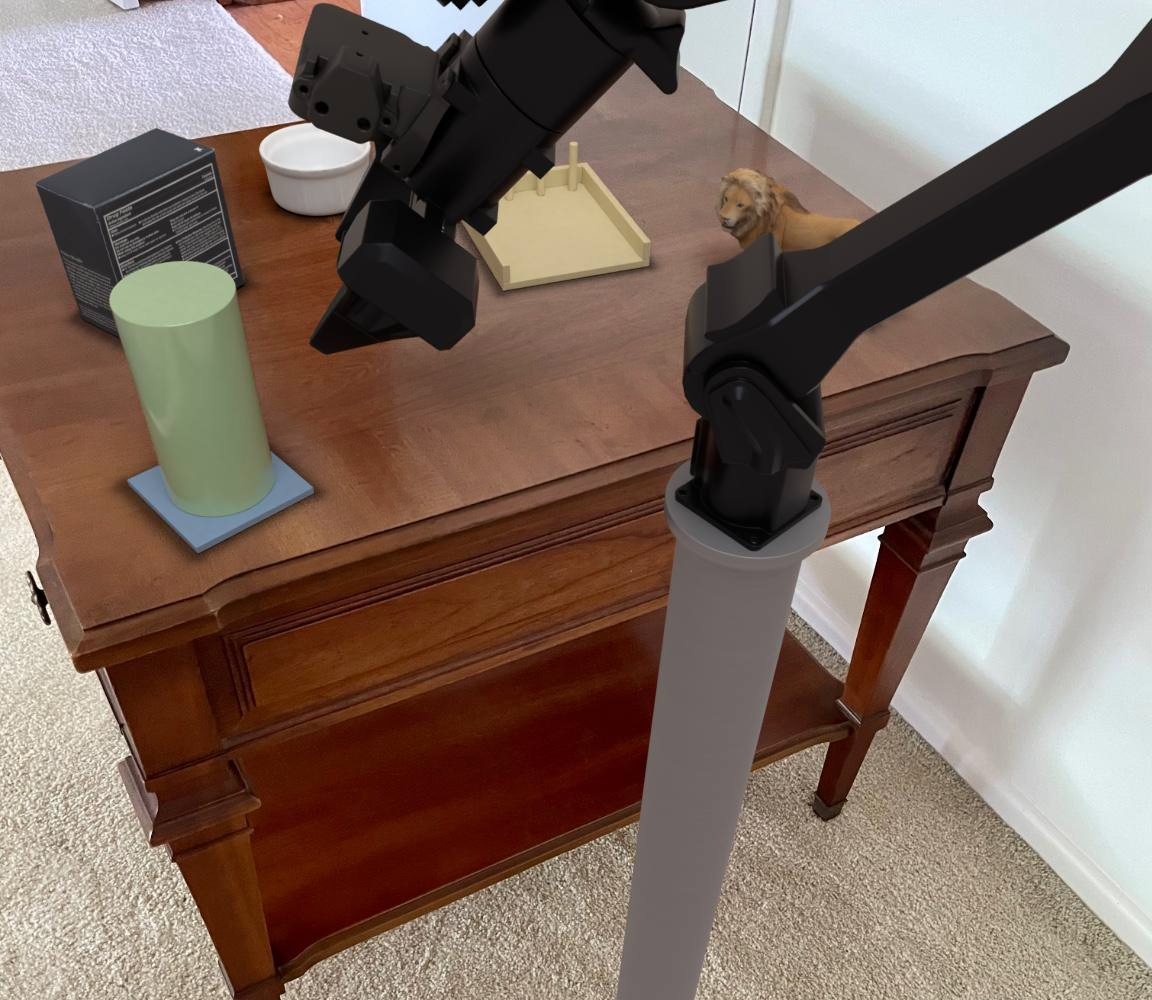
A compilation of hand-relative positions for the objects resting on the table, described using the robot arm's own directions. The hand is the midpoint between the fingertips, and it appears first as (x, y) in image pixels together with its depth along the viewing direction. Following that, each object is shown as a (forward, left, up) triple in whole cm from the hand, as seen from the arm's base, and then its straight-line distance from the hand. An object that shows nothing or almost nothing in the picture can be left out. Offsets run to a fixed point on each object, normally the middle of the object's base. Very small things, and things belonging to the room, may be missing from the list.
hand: (330, 292), depth 60 cm
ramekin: (+32, -20, -14) cm, 40 cm away
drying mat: (+5, +6, -13) cm, 16 cm away
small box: (+26, -2, -14) cm, 29 cm away
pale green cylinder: (+5, +6, -13) cm, 15 cm away
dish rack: (+15, -30, -13) cm, 36 cm away
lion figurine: (-4, -38, -14) cm, 40 cm away
